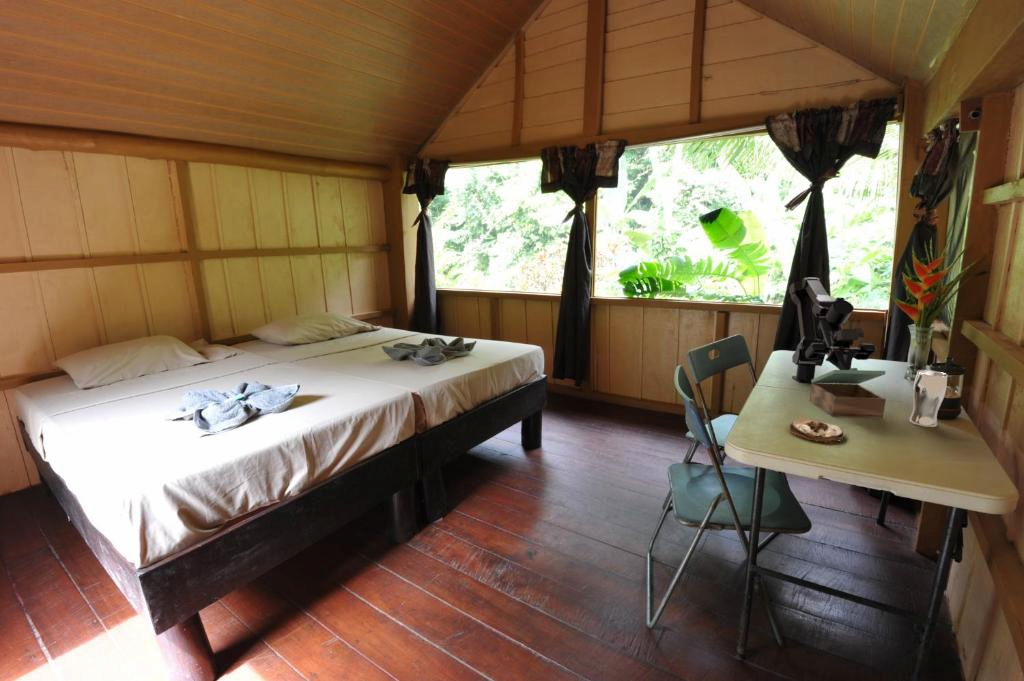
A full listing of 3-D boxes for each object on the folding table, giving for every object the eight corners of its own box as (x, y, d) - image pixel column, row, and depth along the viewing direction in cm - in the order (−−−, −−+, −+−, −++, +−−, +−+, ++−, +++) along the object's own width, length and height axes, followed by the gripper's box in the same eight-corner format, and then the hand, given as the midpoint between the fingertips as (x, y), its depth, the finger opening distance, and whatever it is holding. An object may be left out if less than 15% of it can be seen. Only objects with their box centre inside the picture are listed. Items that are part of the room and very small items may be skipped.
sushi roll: (799, 420, 144) (801, 407, 144) (857, 437, 132) (859, 422, 132) (773, 432, 136) (775, 418, 135) (833, 451, 124) (835, 436, 123)
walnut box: (809, 400, 159) (811, 383, 158) (855, 402, 158) (857, 384, 157) (832, 416, 146) (835, 397, 144) (882, 418, 144) (885, 399, 143)
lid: (811, 382, 158) (810, 376, 159) (857, 383, 156) (856, 377, 157) (835, 373, 145) (834, 365, 145) (885, 374, 143) (884, 366, 144)
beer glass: (944, 428, 136) (954, 377, 133) (916, 427, 138) (925, 376, 134) (929, 419, 143) (938, 370, 140) (902, 417, 144) (910, 369, 141)
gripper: (813, 317, 153) (828, 360, 144) (877, 318, 151) (896, 361, 142) (799, 337, 162) (811, 378, 153) (859, 338, 160) (875, 380, 152)
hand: (848, 374), depth 150 cm, fingers closed, pressing on lid
